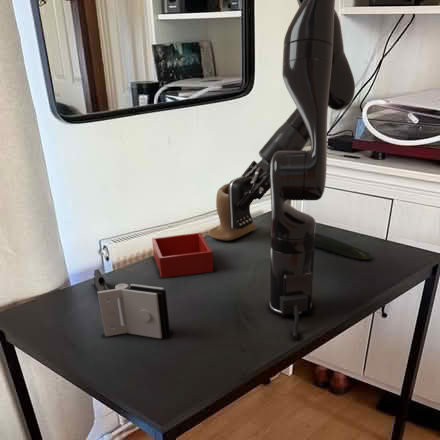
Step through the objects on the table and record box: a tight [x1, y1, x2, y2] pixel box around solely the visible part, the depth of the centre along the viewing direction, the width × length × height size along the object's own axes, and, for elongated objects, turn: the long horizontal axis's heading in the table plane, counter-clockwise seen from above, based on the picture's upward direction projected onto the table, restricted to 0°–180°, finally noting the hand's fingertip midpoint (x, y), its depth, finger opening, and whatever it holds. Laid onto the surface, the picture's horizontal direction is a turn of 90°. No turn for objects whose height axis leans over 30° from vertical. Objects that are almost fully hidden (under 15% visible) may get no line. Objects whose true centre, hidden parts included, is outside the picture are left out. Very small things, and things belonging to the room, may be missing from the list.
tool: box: [314, 232, 373, 261], centre depth 153 cm, size 28×6×7 cm, turn 47°
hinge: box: [97, 283, 171, 340], centre depth 118 cm, size 14×5×10 cm, turn 81°
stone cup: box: [208, 182, 257, 242], centre depth 164 cm, size 15×12×15 cm
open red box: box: [151, 232, 214, 279], centre depth 150 cm, size 16×14×5 cm
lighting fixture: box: [93, 268, 110, 302], centre depth 134 cm, size 19×3×4 cm, turn 22°
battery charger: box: [228, 175, 254, 229], centre depth 137 cm, size 7×4×11 cm, turn 143°
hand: (236, 204), depth 137 cm, fingers closed on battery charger, 6 cm apart
